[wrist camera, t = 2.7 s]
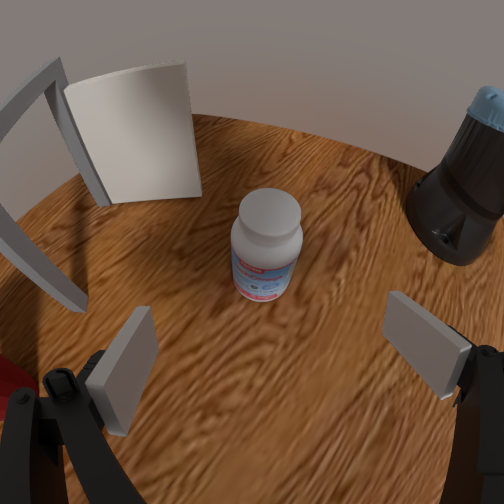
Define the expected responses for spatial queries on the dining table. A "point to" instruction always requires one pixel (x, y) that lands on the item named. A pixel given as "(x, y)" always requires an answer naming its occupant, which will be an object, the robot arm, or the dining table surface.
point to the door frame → (53, 85)
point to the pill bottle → (265, 243)
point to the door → (139, 131)
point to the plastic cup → (12, 382)
